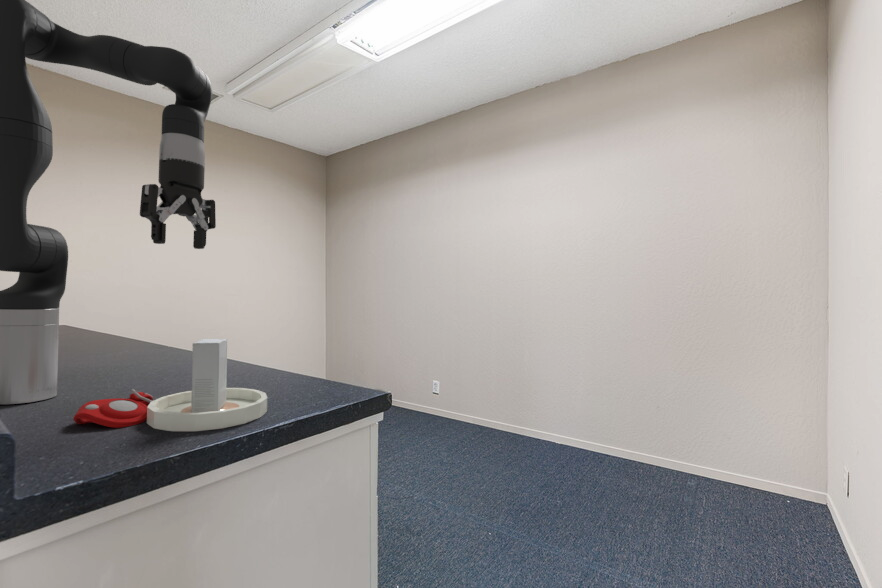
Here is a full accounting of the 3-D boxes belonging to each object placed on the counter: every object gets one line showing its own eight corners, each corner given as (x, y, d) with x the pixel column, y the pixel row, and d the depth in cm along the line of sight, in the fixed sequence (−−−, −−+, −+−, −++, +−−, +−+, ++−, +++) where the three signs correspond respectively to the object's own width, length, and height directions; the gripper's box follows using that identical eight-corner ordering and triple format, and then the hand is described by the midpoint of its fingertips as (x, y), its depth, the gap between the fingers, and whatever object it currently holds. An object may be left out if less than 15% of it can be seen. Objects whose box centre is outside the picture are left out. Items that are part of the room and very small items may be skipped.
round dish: (120, 422, 67) (121, 406, 67) (212, 397, 84) (213, 384, 84) (207, 437, 62) (208, 420, 62) (287, 407, 79) (287, 393, 79)
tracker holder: (151, 419, 67) (72, 412, 61) (143, 444, 67) (63, 439, 62) (160, 386, 77) (93, 378, 72) (153, 408, 77) (85, 401, 72)
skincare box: (200, 404, 75) (202, 338, 75) (226, 403, 76) (228, 338, 76) (189, 414, 69) (191, 342, 69) (217, 413, 70) (220, 342, 70)
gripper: (198, 174, 89) (196, 250, 89) (131, 152, 75) (128, 241, 75) (226, 172, 86) (224, 250, 86) (162, 148, 73) (159, 241, 73)
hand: (179, 246), depth 81 cm, fingers open, 8 cm apart
